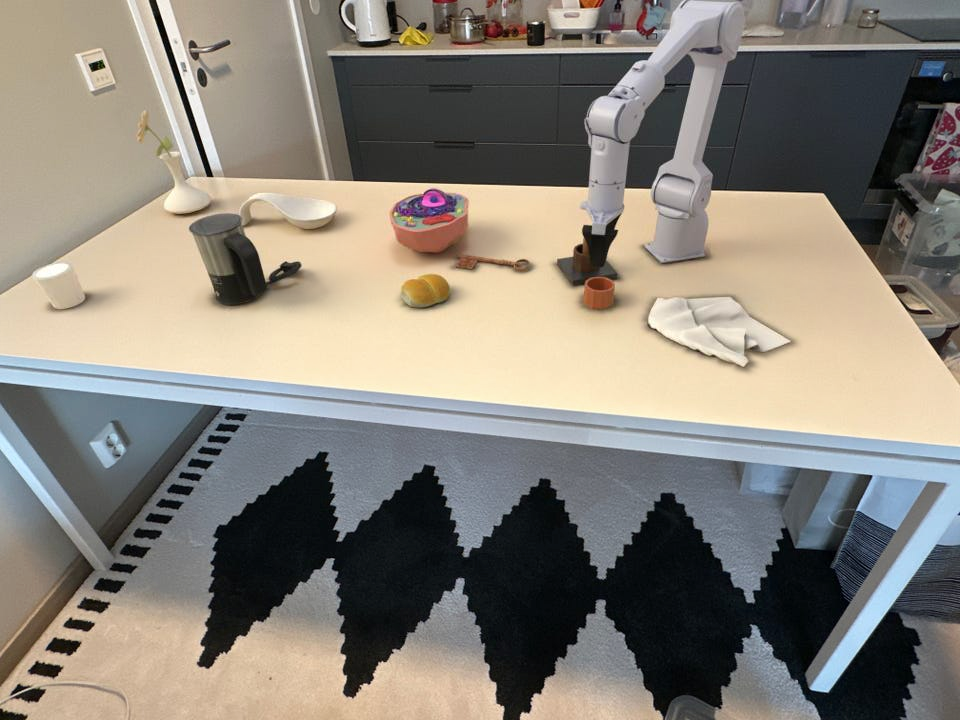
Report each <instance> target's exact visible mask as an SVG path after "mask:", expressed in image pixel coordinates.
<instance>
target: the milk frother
mask: <svg viewBox="0 0 960 720" xmlns="http://www.w3.org/2000/svg"><path fill="white" fill-rule="evenodd" d="M241 222H242V217H241V216H240V215H239V214H237V213H234V212H233V213H231V212H223V213H215V214H210V215H206V216H204V217H201V218H198V219H196V220H195V221H194V222H192V223H191V224H190V225H189V227H188V231H189V232H190V233H191V234H192V236H193V239H194V242H195V244H196V248H197V249H198V252H199V254H200V257H201V260H202V262H203V264H204V267H205V270H206V271H207V274H208V277H209V280H210V282H211V285H212V288H213V292H214V294H215V295H214V297H215V300H216V302H218V303H219V304H222V305H225V306H227V305H228V306H233V305H241V304H244V303H248V302H250V301H252V300H255V299H257V298H258V297H260V296H261V295H262V294H264V293H266V292H267V291H268V286H270V285H273V284H275V283H277V282H280V281H282V280H283V279H284V280H285V279H286V278H288V277H290V276H292V275H293V274H295V273H297V272H298V270H300V269H301V268H302V266H303V265H302V262H301V261H293V262H288V261H283V262H282V263H281V264H280V265H279V267H278V268H276V269H275V270H274V271H272V272H271V273H270V274H269V276H268V280H269V281H266V277H265V273H264V270H263V266H262V263H261V259H260V254H259V251H258V250H257V248H256V246H255V244H254V243H253V242H252V241H251V239H250V238H249V237H247V235H246V232H245V229H244V225H242V223H241ZM281 272H283V273H281ZM278 274H279V275H278Z"/></svg>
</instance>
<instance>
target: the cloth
mask: <svg viewBox="0 0 960 720" xmlns="http://www.w3.org/2000/svg"><path fill="white" fill-rule="evenodd" d="M647 324H648V326H649V328H650V329H656V330H657V332H658V333H659V334H661V335H663V336H664V337H666V338H667V339H669V340H671V341H674V342H676V343H677V344H679V345H681V346H685V347H688V348H689V349H690V350H693V351H696V352H700V353H702V354H704V355H705V356H708V357H713V358H717V359H720V360H722V361H724V362H726V363H731V364H737V365H739V366H741V367H743V368H744V367H745V366H746V365H747V364H748V363H749V360H748V358H747V357H746V356H745V350H752V351H756V352H760V353H765V352H769V351H771V350H774V349H776V348H780V347H782V346H784V345H786V344H789V343H791V340H790V339H788V338H786V337H785V336H783V335H782V334H780V333H778V332H776V331H774V330H773V329H772V328H769V327H768V326H766V325H764V323H763V324H762V323H761V322H759V321H758V320H756V319H754V318H752V317H750V315H749V314H748V313H747V311H745V309H744V308H743V306H742V305H741V304H740V303H739V302H737V301H736V300H734V299H733V297H732V296H720V297H715V296H714V297H699V298H685V297H679V296H675V297H674V296H673V297H672V298H666V299H665V298H663V297H657V298H656V300H655V302H654V303H653V306H652V307H651V309H650V311H649V314H648V316H647Z"/></svg>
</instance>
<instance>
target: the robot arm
mask: <svg viewBox="0 0 960 720" xmlns="http://www.w3.org/2000/svg"><path fill="white" fill-rule="evenodd" d="M745 25H746V14H745V10H744V7H743V5H742V3H741V2H740V1H732V2H731V1H709V0H682V1H680V3H679V4H678V6H677V7H676V8H675V10H674V11H672V15H671V18H670V24H669V30H668V31H667V32H666V34H665V35H664V37H663V38H662V40H661V41H659V44H658V45H657V46H656V48H655V49H654V51H653V52H652V54H651V55H650V56H649V57H648V59H647V60H644V59H643V60H639V61H636V62H635V63H634V64H633V65H632V66H631V68H630V69H629V70H628V71H627V73H626V74H625V75H624V76H623V77H622V78H621V79H620V81H619V82H618V83H617V84H616V85H615V86H614V87H613V89H612V90H611V91H610V92H609V93H608V95H603V96H602V95H601V96H599V97H597V98H595V100H594V101H592V102H591V104H590V105H589V107H588V110H587V113H586V117H585V118H584V128H585V131H586V133H587V136H588V140H587V141H588V144H587V145H588V147H589V148H591V149H590V162H589V176H588V180H589V181H588V192H587V200H582V201H580V204H579V209H580V210H583V211H584V210H585V211H586V212H587V214H588V217H589V219H590V221H591V222H592V224H583V226H582V228H581V233H582V237H583V238H585V240H586V243H587V246H588V250H589V257H590V263H591V266H594V267H604V264H605V262H606V261H607V258H608V255H609V251H610V247H611V246H612V244H613V242H614V241H615V239H616V238H617V236H618V233H619V229H616V226H617V224H618V222H619V220H620V217H621V215H622V214H623V213H624V212H625V204H624V201H625V200H624V198H625V192H626V191H625V189H626V182H627V171H628V163H629V155H630V154H629V153H630V144H631V140H632V139H633V138H634V137H636V135H637V133H638V131H639V129H640V126H641V123H642V120H643V119H644V117H645V115H646V110H647V109H648V107H650V105H651V104H652V103H653V102H654V100H655V99H656V98H657V97H658V96H659V94H660V93H661V92H662V91H663V90H664V88H665V85H666V83H665V82H666V80H665V76H666V75H667V74H668V73H670V71H671V70H672V69H674V67H675V66H676V65H677V64H678V63H679V62H680V61H681V60H682V59H683V58H684V57H685V56H686V55H687V56H690V58H691V60H692V62H693V64H694V70H693V74H692V78H691V82H690V87H689V91H688V94H687V95H688V96H687V100H686V103H685V108H684V112H683V116H682V120H681V124H680V128H679V133H678V138H677V142H676V146H675V150H674V154H673V158H672V159H670V160H668V161H666V162H665V163H663V164H662V165H660V166H659V168H658V171H657V174H656V176H655V179H654V180H653V182H652V185H651V189H650V199H651V201H652V203H653V204H654V205H655V206H654V207H655V208H654V209H655V211H657V216H656V222H655V230H654V231H655V232H654V236H653V242H650V243H645V244H644V248H645V249H646V250H647V251H648V252H649V253H651V255H653V257H654V258H656V260H658V261H659V262H660V263H661V264H667V263H673V262H679V261H685V260H691V259H698V258H704V257H705V256H706V254H705V252H704V249H705V245H706V240H707V235H708V231H709V230H708V229H709V224H710V223H709V216H708V212H707V211H706V210H705V209H706V208H707V207H708V205H709V203H710V199H711V197H712V184H713V177H714V175H713V173H712V172H711V170H710V169H709V168H708V167H707V166H706V164H705V163H704V161H703V158H704V153H705V150H706V146H707V142H708V138H709V134H710V131H711V127H712V123H713V119H714V115H715V112H716V108H717V103H718V100H719V96H720V92H721V88H722V84H723V81H724V78H725V73H726V69H727V67H728V62H731V61H733V60H735V59H736V57H737V53H738V51H739V48H740V45H741V40H742V37H743V33H744V30H745V29H744V28H745Z"/></svg>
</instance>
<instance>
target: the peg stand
mask: <svg viewBox="0 0 960 720" xmlns="http://www.w3.org/2000/svg"><path fill="white" fill-rule="evenodd" d="M582 244H583V250H582V254H586V255H589V250H588V246H587V243H586V240H585V238H584V237H583V238H582ZM556 265H557V266H558V268H559V269H560V270H561V272H562V274H563V275H564V276H565V278H566V279H567V280H568V282H569V283H570V285H571V286H572V287H575V286H580V285H585V282H586V280H588V279H590V278H593V277H606V278H608V279H611V280H612V281H613V280H617V279H618V272H617V270H616V269H615V268H614V267H613V266H612V265H611V264H610V263H609V261H607V260H606V262H605V264H604V267H600V268H599V269H598V270H597V271H595V272H589V273H587V272H580V271H577V270H575V269H574V267H573V256H567V257H562V258H557V259H556Z"/></svg>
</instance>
